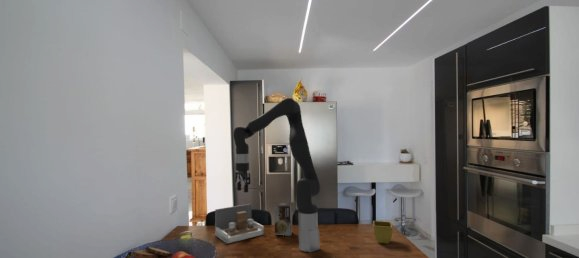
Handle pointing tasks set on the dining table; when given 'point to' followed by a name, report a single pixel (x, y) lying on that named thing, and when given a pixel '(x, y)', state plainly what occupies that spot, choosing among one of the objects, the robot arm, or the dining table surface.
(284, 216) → the coffee box
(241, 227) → the tray
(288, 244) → the dining table surface
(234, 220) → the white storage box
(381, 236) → the flower pot
